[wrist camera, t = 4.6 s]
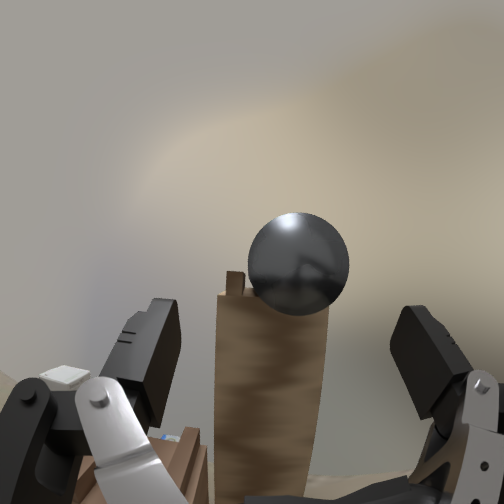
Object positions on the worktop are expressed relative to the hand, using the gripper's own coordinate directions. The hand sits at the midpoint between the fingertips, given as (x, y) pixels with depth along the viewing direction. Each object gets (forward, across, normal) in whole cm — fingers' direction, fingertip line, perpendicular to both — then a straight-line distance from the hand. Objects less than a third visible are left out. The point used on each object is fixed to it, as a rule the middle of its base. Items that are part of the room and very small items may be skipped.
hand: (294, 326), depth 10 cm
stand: (-2, 0, +35) cm, 35 cm away
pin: (+10, 0, +5) cm, 11 cm away
